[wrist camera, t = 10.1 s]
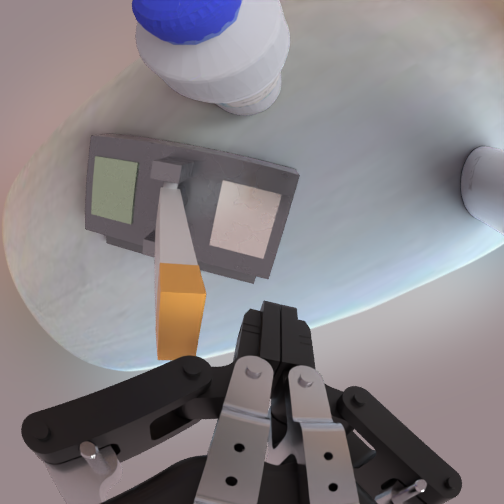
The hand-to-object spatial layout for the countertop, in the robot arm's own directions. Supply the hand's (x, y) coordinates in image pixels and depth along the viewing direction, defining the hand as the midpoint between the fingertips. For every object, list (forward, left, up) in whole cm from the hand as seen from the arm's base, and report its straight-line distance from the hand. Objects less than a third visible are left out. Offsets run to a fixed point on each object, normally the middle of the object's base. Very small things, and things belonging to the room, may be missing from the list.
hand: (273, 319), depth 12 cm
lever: (+9, 0, -11) cm, 14 cm away
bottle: (+6, -12, -17) cm, 21 cm away
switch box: (+9, 0, -17) cm, 19 cm away
